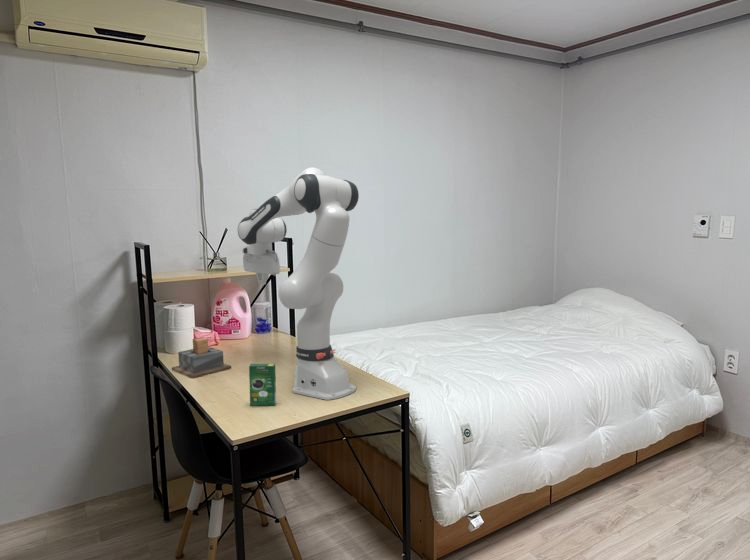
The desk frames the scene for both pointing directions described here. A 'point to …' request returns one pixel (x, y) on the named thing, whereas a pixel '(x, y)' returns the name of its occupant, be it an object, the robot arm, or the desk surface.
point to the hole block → (200, 363)
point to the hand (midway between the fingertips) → (262, 284)
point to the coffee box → (262, 384)
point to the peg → (200, 345)
